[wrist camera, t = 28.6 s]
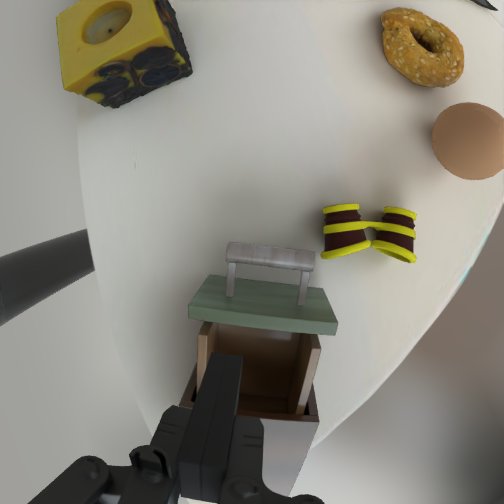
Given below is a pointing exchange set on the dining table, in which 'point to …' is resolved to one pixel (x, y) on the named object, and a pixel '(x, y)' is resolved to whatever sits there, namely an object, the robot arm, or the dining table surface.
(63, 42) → the candle
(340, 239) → the opera glasses
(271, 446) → the cabinet
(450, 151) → the egg
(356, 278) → the dining table surface
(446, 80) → the bagel
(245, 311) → the drawer
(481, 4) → the knife
